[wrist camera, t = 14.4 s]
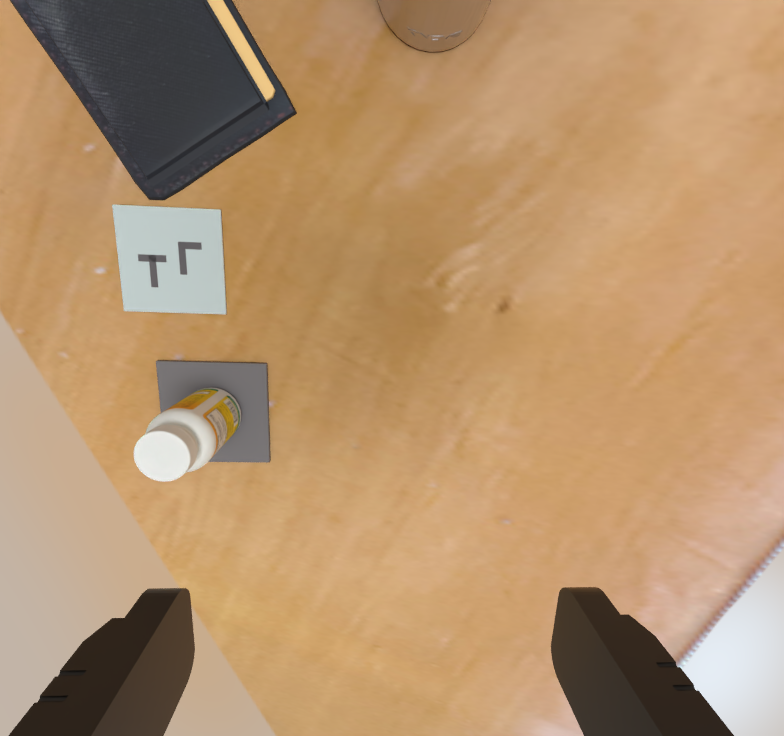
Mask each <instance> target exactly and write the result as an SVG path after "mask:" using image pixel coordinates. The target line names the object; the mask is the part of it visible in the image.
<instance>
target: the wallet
mask: <svg viewBox="0 0 784 736" xmlns="http://www.w3.org/2000/svg"><path fill="white" fill-rule="evenodd" d="M10 1H11V2H12V4H13V5H14V7H15V8H16V10H17V11H18V13H19V14H20V15H21V17H22V18H23V20H24V21H25V23H26V24H27V26H28V27H29V28H30V30H31V31H32V33H33V34H34V35H35V37H36V38H37V40H38V41H39V42H40V44H41V45H42V47H43V48H44V49H45V51H46V52H47V54H48V55H49V57H50V58H51V59H52V61H53V62H54V64H55V65H56V66H57V68H58V69H59V71H60V72H61V73H62V75H63V76H64V78H65V79H66V80H67V82H68V83H69V85H70V86H71V88H72V89H73V90H74V92H75V93H76V95H77V96H78V98H79V99H80V101H81V102H82V103H83V105H84V106H85V108H86V109H87V111H88V112H89V114H90V115H91V117H92V118H93V120H94V121H95V123H96V124H97V126H98V127H99V129H100V130H101V132H102V133H103V135H104V136H105V138H106V139H107V141H108V142H109V144H110V145H111V147H112V148H113V150H114V151H115V153H116V154H117V156H118V157H119V159H120V160H121V162H122V163H123V165H124V166H125V168H126V169H127V171H128V172H129V174H130V175H131V177H132V179H133V180H134V182H135V183H136V184H137V185H138V187H139V188H140V189H141V190H142V191H143V193H144V194H145V195H146V196H147V197H148V199H150V200H165V199H167V198H169V197H171V196H172V195H174V194H176V193H178V192H179V191H181V190H183V189H184V188H185V187H187V186H188V185H190V184H191V183H193V182H194V181H196V180H197V179H199V178H200V177H202V176H203V175H204V174H206V173H207V172H209V171H210V170H212V169H213V168H215V167H216V166H218V165H219V164H221V163H222V162H223V161H225V160H226V159H228V158H230V157H231V156H233V155H234V154H236V153H237V152H239V151H241V150H242V149H244V148H245V147H247V146H248V145H250V144H252V143H253V142H255V141H256V140H258V139H259V138H261V137H263V136H264V135H266V134H267V133H268V132H270V131H271V130H273V129H274V128H276V127H277V126H278V125H280V124H281V123H283V122H284V121H286V120H287V119H289V118H291V117H292V116H294V115H295V114H297V113H296V111H295V109H294V107H293V105H292V103H291V101H290V99H289V97H288V95H287V93H286V91H285V89H284V88H283V86H282V84H281V83H280V81H279V80H278V78H277V76H276V75H275V73H274V72H273V70H272V68H271V67H270V65H269V64H268V62H267V60H266V59H265V57H264V55H263V53H262V52H261V50H260V48H259V47H258V45H257V43H256V41H255V40H254V38H253V36H252V34H251V33H250V31H249V29H248V27H247V26H246V24H245V22H244V21H243V19H242V17H241V15H240V14H239V12H238V10H237V8H236V7H235V5H234V3H233V1H232V0H10Z"/></svg>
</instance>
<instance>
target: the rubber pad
mask: <svg viewBox="0 0 784 736" xmlns="http://www.w3.org/2000/svg"><path fill="white" fill-rule="evenodd" d="M156 366H157V377H158V387H159V398H160V408H161V413H162V412H163V411H165V410H167V409H168V408H170V407H171V406H173V405H175V404H176V403H178V402H179V401H181V400H183V399H184V398H186V397H187V396H189V395H191V394H192V393H194V392H195V391H198V390H200V389H203V388H218V389H222V390H224V391H226V392H228V393H229V394H231V395H232V396H233V397H234V398H235V400H236V401H237V403H238V404H239V407H240V410H241V422H240V425H239V427H238V429H237V430H236V432H235V433H234V434H233V435H232V436H231V437H230V438H229V439H228V440H227V442H226V443H225V444H224V445H223V446H222V447H221V448H220V449H219V451H218V452H217V453H216V454H215V455H214V456H213V457H212V458H211V459H210V460H209V461H208V462H270V433H269V403H268V373H267V363H243V362H203V361H164V360H158V361H156Z"/></svg>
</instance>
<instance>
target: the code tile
mask: <svg viewBox="0 0 784 736" xmlns="http://www.w3.org/2000/svg"><path fill="white" fill-rule="evenodd" d="M112 207H113V216H114V225H115V234H116V243H117V252H118V261H119V270H120V279H121V288H122V297H123V306H124V311H137V312H169V313H200V314H227V308H226V290H225V271H224V253H223V235H222V216H221V210H217V209H196V208H175V207H153V206H132V205H112Z"/></svg>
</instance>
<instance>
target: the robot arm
mask: <svg viewBox="0 0 784 736" xmlns="http://www.w3.org/2000/svg"><path fill="white" fill-rule="evenodd" d="M490 1H491V0H378V3H379V6H380V9H381V12H382V15H383V17H384V19H385V21H386V22H387V24H388V26H389V27H390V29H391V30H392V31H393V32H394V33H395V34H396V36H397V37H398V38H400V39H401V40H402V41H404V42H405V43H406V44H408V45H410V46H412V47H414V48H416V49H418V50H423V51H428V52H438V51H445V50H448V49H451V48H454V47H456V46H458V45H459V44H461V43H463V42H464V41H465V40H466V39H468V38H469V37H470V36H471V35H472V34H473V33H474V32H475V30H476V29H477V27H478V26H479V25H480V23H481V21H482V19H483V17H484V15H485V13H486V10H487V8H488V6H489V4H490ZM194 651H195V646H194V634H193V623H192V611H191V600H190V593H189V591H188V589H186V588H170V589H147V590H146V591H145V592H144V593H143V594H142V595H141V596H140V597H139V599H138V600H137V602H136V603H135V604H134V606H133V607H132V609H131V610H130V611H129V613H128V614H127V615H126V617H125V618H112V619H111V620H110V621H108V622H107V623H106V624H105V625H103V626H102V627H101V628H100V629H98V630H97V631H96V632H95V633H93V634H92V635H91V636H90V637H88V638H87V639H86V640H85V641H83V642H82V644H81V645H80V646H79V648H78V649H77V650H76V651H75V653H74V654H73V655H72V657H71V658H70V659H69V660H68V661H67V663H66V664H65V665H64V666H63V668H62V669H61V670H60V674H59V676H58V677H55V678H54V679H53V681H52V682H51V683H50V684H49V685H48V687H47V688H46V689H45V690H44V692H43V693H42V694H41V695H40V699H39V701H38V702H37V703H34V704H33V706H32V707H31V708H30V709H29V711H28V712H27V713H26V715H25V716H24V717H23V718H22V719H21V721H20V722H19V723H18V724H17V726H16V727H15V728H14V729H13V731H12V732H11V733H10V735H9V736H163V735H164V733H165V731H166V729H167V727H168V724H169V722H170V720H171V718H172V716H173V713H174V711H175V709H176V707H177V704H178V702H179V700H180V698H181V696H182V694H183V691H184V689H185V687H186V684H187V682H188V679H189V676H190V673H191V670H192V665H193V659H194ZM551 653H552V660H553V665H554V669H555V672H556V675H557V678H558V680H559V682H560V685H561V687H562V689H563V691H564V693H565V695H566V698H567V700H568V702H569V704H570V706H571V708H572V711H573V713H574V715H575V717H576V719H577V721H578V723H579V726H580V728H581V730H582V732H583V734H584V736H734V735H733V734H732V733H731V731H730V730H729V729H728V728H727V726H726V725H725V724H724V722H723V721H722V720H721V719H720V717H719V716H718V715H717V714H716V712H715V711H714V710H713V709H712V707H711V706H710V705H709V703H708V702H707V701H706V700H705V699H704V697H703V696H702V695H701V693H700V692H699V691H696V690H695V689H694V685H693V683H692V682H691V681H690V679H689V678H688V677H687V676H686V674H685V673H684V672H683V671H682V669H681V668H680V667H677V666H676V662H675V661H674V659H673V658H672V657H671V655H670V654H669V653H668V652H667V650H666V649H665V648H664V647H663V645H662V644H661V643H660V642H659V640H658V639H657V638H656V636H654V635H653V634H652V633H651V632H650V631H648V630H647V629H646V628H645V627H643V626H642V625H641V624H640V623H638V622H637V621H636V620H635V619H634V618H632V617H631V616H630V615H620V614H619V612H618V611H617V609H616V608H615V607H614V605H613V604H612V603H611V601H610V600H609V599H608V597H607V596H606V595H605V593H604V592H603V591H602V590H601V589H599V588H596V587H570V588H562V589H561V590H560V592H559V597H558V603H557V610H556V616H555V623H554V629H553V635H552V642H551Z"/></svg>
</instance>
